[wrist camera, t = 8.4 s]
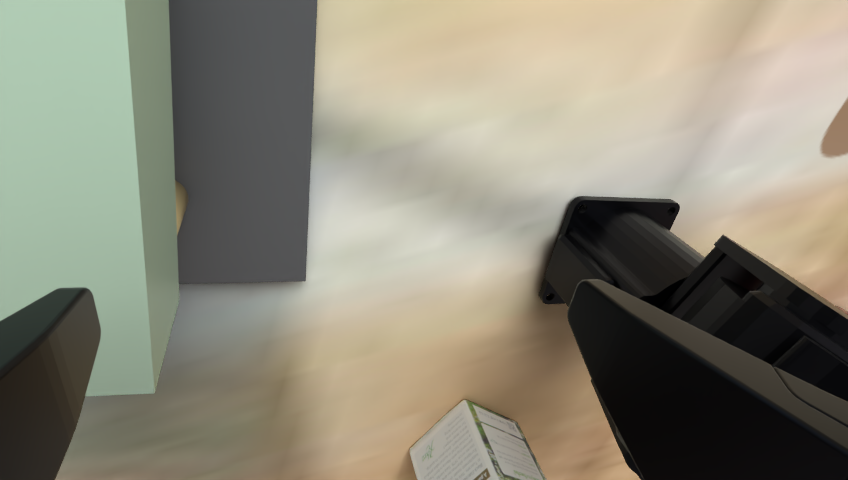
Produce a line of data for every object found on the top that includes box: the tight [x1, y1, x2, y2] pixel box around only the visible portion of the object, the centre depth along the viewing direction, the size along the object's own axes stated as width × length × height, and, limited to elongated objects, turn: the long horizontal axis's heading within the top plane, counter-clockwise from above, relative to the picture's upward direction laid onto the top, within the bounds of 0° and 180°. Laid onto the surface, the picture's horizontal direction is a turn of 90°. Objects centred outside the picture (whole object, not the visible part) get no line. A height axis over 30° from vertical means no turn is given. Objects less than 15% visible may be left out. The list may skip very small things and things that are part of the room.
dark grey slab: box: [169, 0, 317, 284], centre depth 14 cm, size 14×18×4 cm
